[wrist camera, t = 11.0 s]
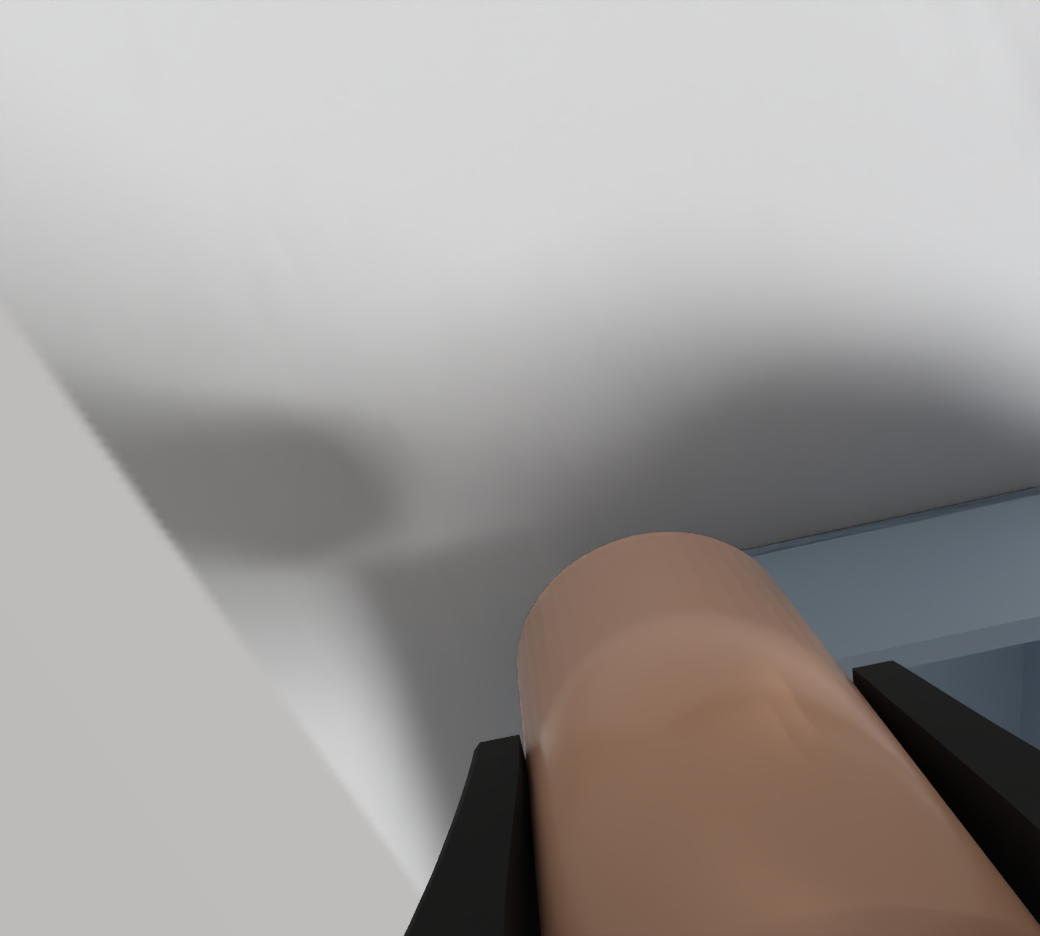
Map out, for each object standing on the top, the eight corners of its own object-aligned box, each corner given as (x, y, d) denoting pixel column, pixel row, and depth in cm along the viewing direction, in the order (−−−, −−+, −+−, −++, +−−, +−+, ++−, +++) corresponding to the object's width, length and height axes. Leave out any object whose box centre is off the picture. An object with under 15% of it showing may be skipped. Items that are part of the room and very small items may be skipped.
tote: (1042, 485, 20) (1216, 578, 15) (1020, 925, 26) (1138, 1086, 21) (560, 589, 20) (586, 712, 16) (652, 999, 26) (690, 1174, 22)
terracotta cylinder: (777, 502, 12) (1117, 847, 6) (804, 735, 14) (1088, 1203, 8) (487, 569, 13) (501, 982, 6) (549, 792, 14) (612, 1300, 8)
